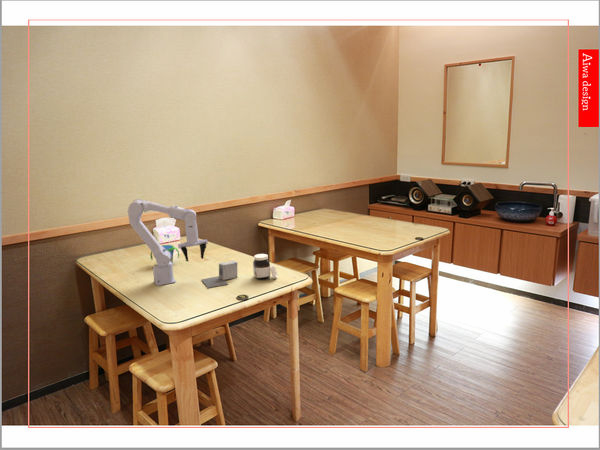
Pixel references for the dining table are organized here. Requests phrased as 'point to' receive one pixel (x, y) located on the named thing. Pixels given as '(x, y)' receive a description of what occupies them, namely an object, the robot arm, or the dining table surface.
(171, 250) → the snack cup
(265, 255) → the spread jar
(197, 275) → the dining table surface
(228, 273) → the medicine box
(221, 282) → the mat
